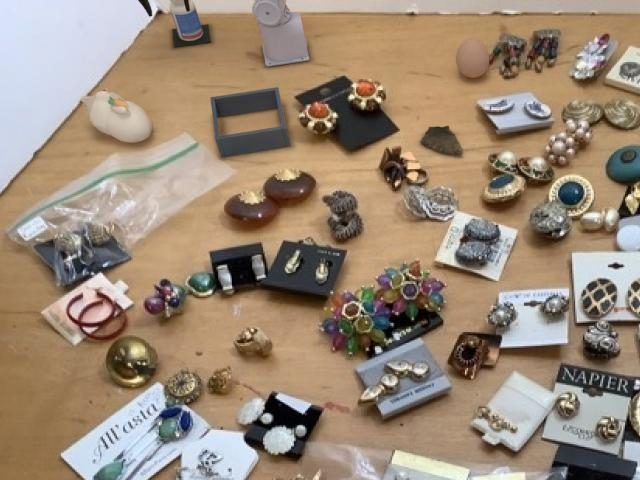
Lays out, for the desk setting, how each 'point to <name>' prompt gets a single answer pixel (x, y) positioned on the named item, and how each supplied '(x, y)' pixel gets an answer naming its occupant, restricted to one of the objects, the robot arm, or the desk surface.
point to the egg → (472, 58)
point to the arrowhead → (442, 140)
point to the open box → (250, 139)
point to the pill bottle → (186, 20)
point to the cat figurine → (117, 116)
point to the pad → (203, 39)
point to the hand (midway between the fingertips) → (169, 11)
